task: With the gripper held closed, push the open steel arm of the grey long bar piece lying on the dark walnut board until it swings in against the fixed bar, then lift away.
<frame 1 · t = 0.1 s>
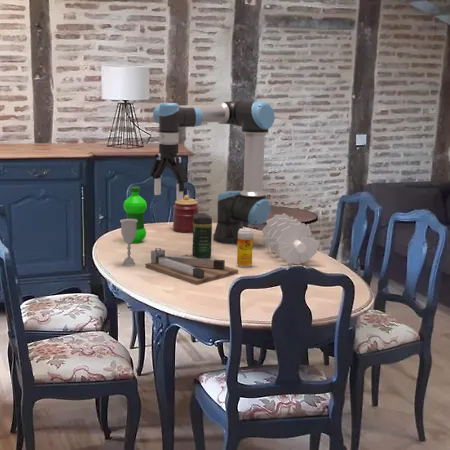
hand: (168, 197, 272), 28 cm above the table, tool pointing down, fingers open, 13 cm apart
canister: (186, 230, 339), on the table
chalice: (129, 264, 278), on the table
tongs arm: (194, 261, 272), point 3 cm above the table, hinge at 30.0°
beer can: (244, 266, 280), on the table
grey long bar piece: (163, 263, 275), resting on cutting board
coffee jar: (201, 257, 292), on the table
spiral staircase: (288, 259, 292), on the table
cutting board: (191, 270, 272), on the table
plastic bottle: (135, 241, 315), on the table
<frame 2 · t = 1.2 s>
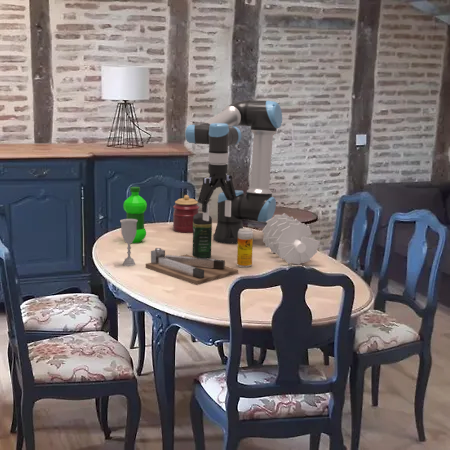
hand: (217, 218, 272), 20 cm above the table, tool pointing down, fingers open, 11 cm apart
nothing on the table moved.
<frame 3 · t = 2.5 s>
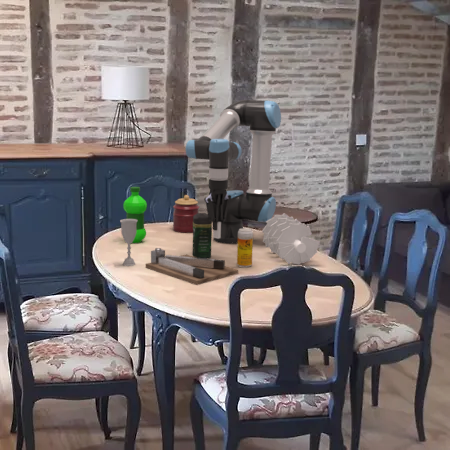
hand: (216, 237, 274), 12 cm above the table, tool pointing down, fingers closed
nothing on the table moved.
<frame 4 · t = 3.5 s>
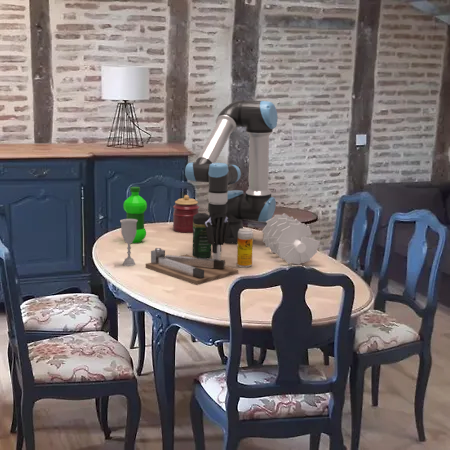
hand: (216, 260, 276), 3 cm above the table, tool pointing down, fingers closed
nothing on the table moved.
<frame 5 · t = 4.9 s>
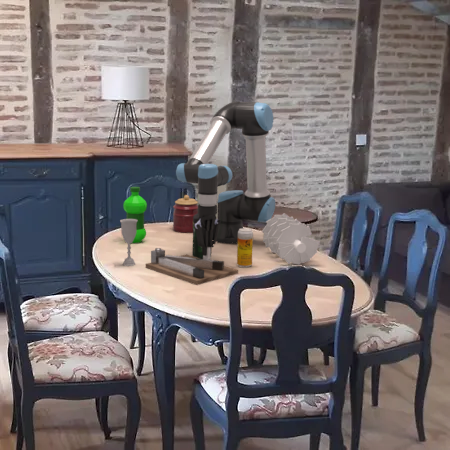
hand: (206, 262, 272), 3 cm above the table, tool pointing down, fingers closed
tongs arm: (194, 262, 271), point 3 cm above the table, hinge at 26.3°, touching gripper
everything else where it was.
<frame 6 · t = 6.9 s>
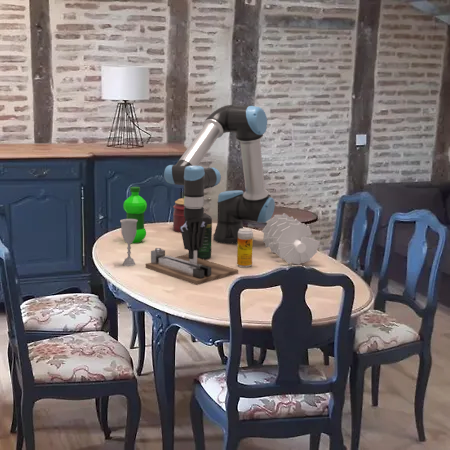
hand: (193, 266, 267), 3 cm above the table, tool pointing down, fingers closed
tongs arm: (186, 265, 267), point 3 cm above the table, hinge at 3.3°, touching gripper
everything else where it was.
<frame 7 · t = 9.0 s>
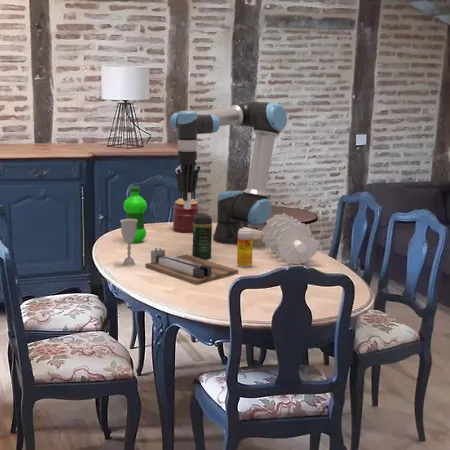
hand: (187, 208, 279), 22 cm above the table, tool pointing down, fingers closed
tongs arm: (186, 265, 267), point 3 cm above the table, hinge at 3.3°
everything else where it was.
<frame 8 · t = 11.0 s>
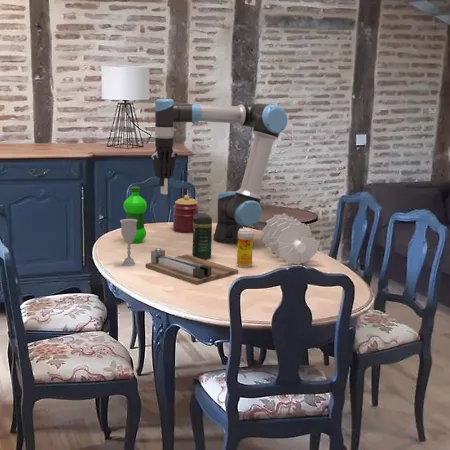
hand: (164, 193, 288), 26 cm above the table, tool pointing down, fingers closed
nothing on the table moved.
at the end: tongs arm at +3° (first picture: +30°) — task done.
